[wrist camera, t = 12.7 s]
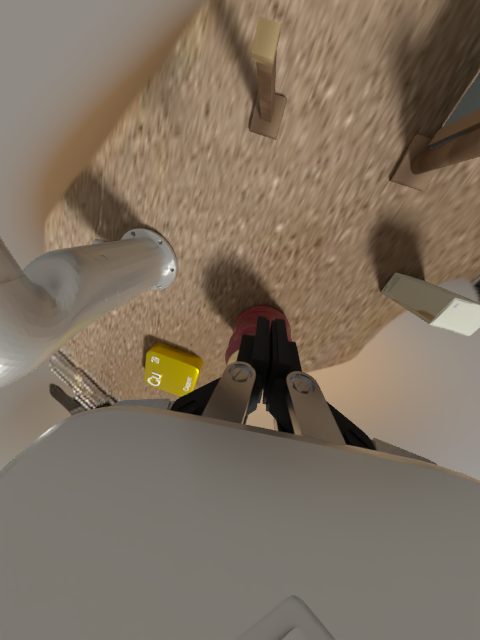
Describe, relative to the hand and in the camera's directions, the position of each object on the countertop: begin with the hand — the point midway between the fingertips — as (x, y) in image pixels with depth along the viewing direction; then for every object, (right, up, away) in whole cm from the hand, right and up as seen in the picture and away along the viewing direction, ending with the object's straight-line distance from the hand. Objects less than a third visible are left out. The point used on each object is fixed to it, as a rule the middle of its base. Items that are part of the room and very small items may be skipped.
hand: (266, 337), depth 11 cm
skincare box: (+29, +7, +23) cm, 38 cm away
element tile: (-21, -13, +43) cm, 50 cm away
